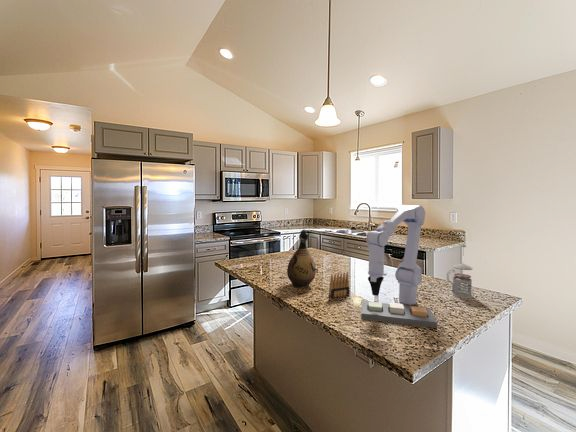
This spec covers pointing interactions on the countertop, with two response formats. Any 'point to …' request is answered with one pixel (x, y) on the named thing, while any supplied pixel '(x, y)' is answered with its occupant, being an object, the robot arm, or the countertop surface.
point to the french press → (461, 281)
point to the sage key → (375, 306)
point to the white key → (396, 308)
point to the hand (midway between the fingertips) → (375, 295)
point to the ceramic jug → (301, 265)
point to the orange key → (418, 311)
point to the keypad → (398, 316)
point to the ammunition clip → (339, 286)
